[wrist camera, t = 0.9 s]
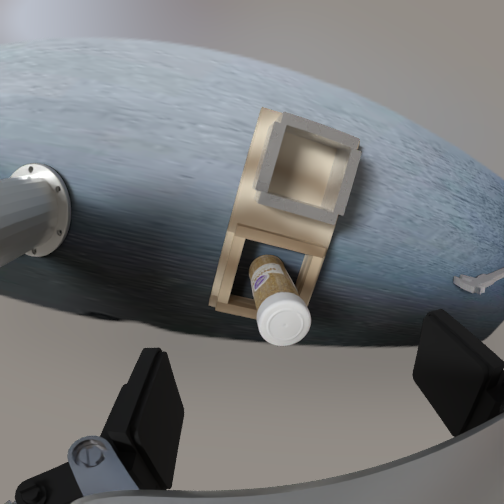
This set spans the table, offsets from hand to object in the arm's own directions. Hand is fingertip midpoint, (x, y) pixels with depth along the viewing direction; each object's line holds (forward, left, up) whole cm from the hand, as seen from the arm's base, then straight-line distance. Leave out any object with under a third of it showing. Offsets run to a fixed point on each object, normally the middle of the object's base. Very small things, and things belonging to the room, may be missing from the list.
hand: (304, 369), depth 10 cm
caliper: (+35, -25, -28) cm, 51 cm away
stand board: (+4, -2, -27) cm, 27 cm away
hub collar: (+8, +3, -26) cm, 27 cm away
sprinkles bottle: (-1, -6, -27) cm, 28 cm away
